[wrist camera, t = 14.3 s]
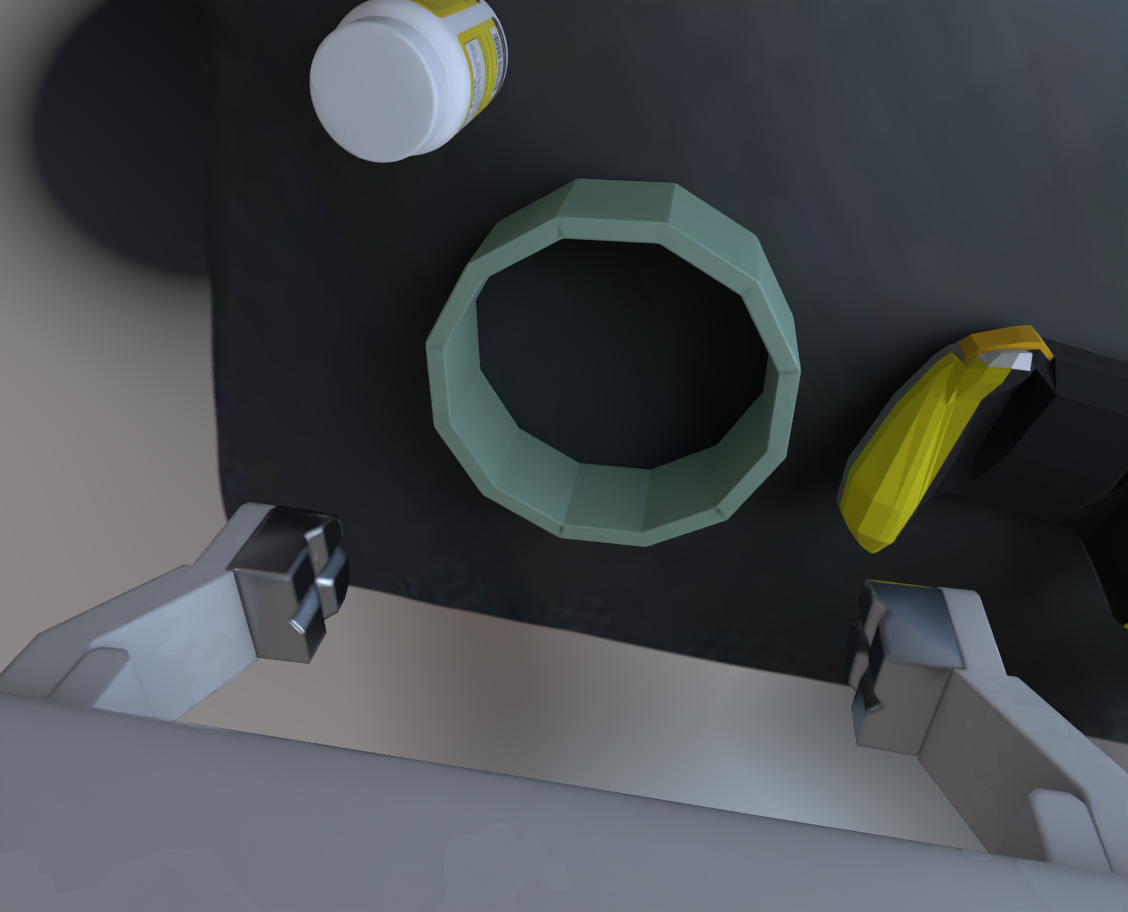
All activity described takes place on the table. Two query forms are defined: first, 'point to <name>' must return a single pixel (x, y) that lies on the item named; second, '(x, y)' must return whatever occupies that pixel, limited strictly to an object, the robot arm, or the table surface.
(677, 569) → the table surface
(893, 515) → the gaming controller
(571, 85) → the table surface
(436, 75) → the supplement bottle
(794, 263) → the table surface
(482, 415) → the ring
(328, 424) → the table surface
